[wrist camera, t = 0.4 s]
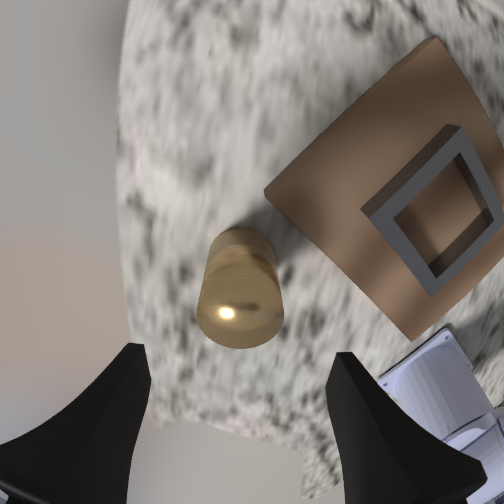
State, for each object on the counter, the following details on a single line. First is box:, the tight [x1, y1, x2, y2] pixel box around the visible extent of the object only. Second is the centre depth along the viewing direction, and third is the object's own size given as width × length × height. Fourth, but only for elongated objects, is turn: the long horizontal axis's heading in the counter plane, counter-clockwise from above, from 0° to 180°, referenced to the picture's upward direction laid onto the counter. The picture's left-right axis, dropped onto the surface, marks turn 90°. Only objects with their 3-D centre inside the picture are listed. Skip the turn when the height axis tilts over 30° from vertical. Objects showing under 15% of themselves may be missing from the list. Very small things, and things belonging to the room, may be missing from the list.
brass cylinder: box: [197, 227, 284, 349], centre depth 17 cm, size 4×4×6 cm
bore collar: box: [360, 124, 504, 298], centre depth 16 cm, size 8×8×2 cm
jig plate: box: [264, 37, 504, 342], centre depth 18 cm, size 16×14×2 cm
